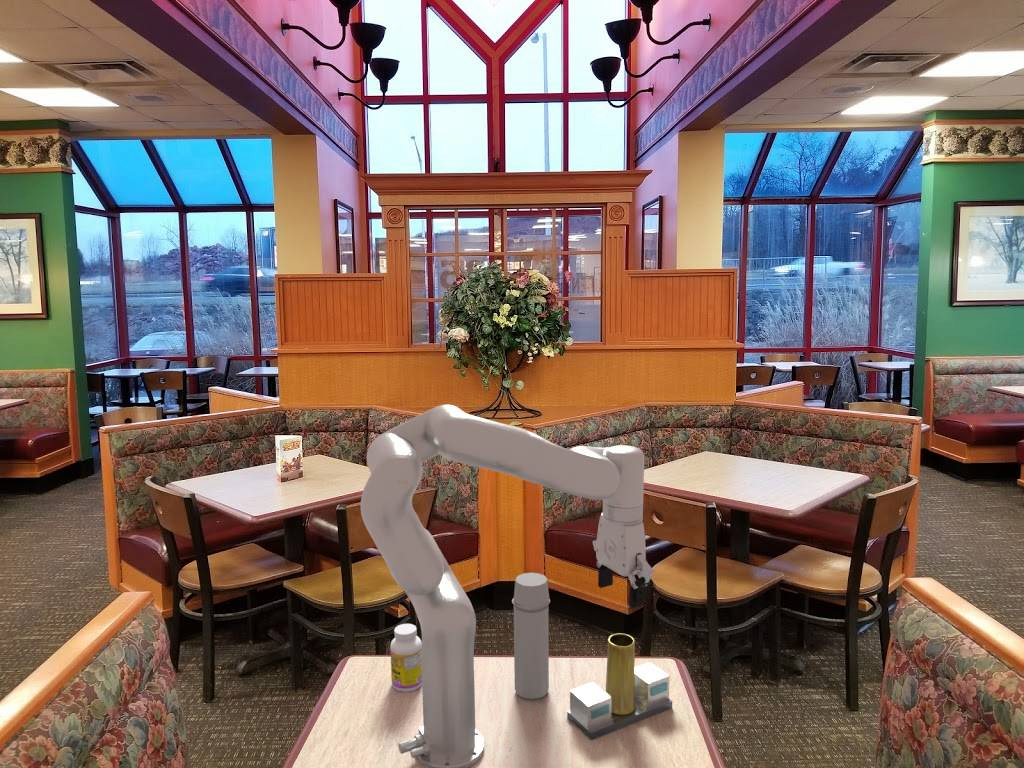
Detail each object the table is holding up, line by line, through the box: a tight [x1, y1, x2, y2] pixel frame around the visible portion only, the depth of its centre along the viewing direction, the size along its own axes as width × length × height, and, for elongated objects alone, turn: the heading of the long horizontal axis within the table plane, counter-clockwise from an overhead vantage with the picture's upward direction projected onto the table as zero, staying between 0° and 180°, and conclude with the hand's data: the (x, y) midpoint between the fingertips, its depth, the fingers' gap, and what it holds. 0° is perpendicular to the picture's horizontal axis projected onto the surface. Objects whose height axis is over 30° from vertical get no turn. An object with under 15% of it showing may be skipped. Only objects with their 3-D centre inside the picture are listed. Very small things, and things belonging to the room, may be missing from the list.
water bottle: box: [511, 572, 551, 700], centre depth 152 cm, size 9×8×25 cm
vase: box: [605, 632, 636, 715], centre depth 144 cm, size 6×6×14 cm
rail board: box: [566, 661, 673, 741], centre depth 145 cm, size 20×8×6 cm, turn 119°
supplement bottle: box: [389, 623, 422, 693], centre depth 156 cm, size 7×7×13 cm
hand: (620, 595), depth 142 cm, fingers open, 9 cm apart
